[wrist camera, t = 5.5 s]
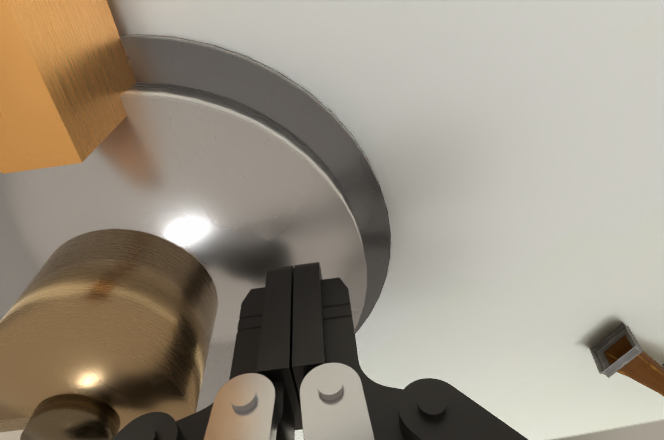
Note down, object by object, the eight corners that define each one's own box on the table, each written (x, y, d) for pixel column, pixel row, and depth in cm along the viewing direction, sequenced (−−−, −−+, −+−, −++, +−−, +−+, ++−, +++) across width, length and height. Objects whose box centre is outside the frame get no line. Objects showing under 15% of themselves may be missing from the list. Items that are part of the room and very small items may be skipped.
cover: (192, 218, 12) (143, 351, 8) (234, 343, 15) (212, 489, 11) (9, 241, 12) (-128, 386, 8) (84, 362, 15) (9, 514, 11)
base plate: (375, -2, 11) (377, 0, 11) (396, 363, 19) (398, 371, 18) (-174, 75, 11) (-188, 79, 11) (69, 407, 19) (65, 416, 18)
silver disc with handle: (373, 365, 18) (391, 459, 14) (76, 405, 18) (27, 508, 14) (321, -155, 9) (336, -209, 6) (-265, -73, 9) (-576, -78, 6)
